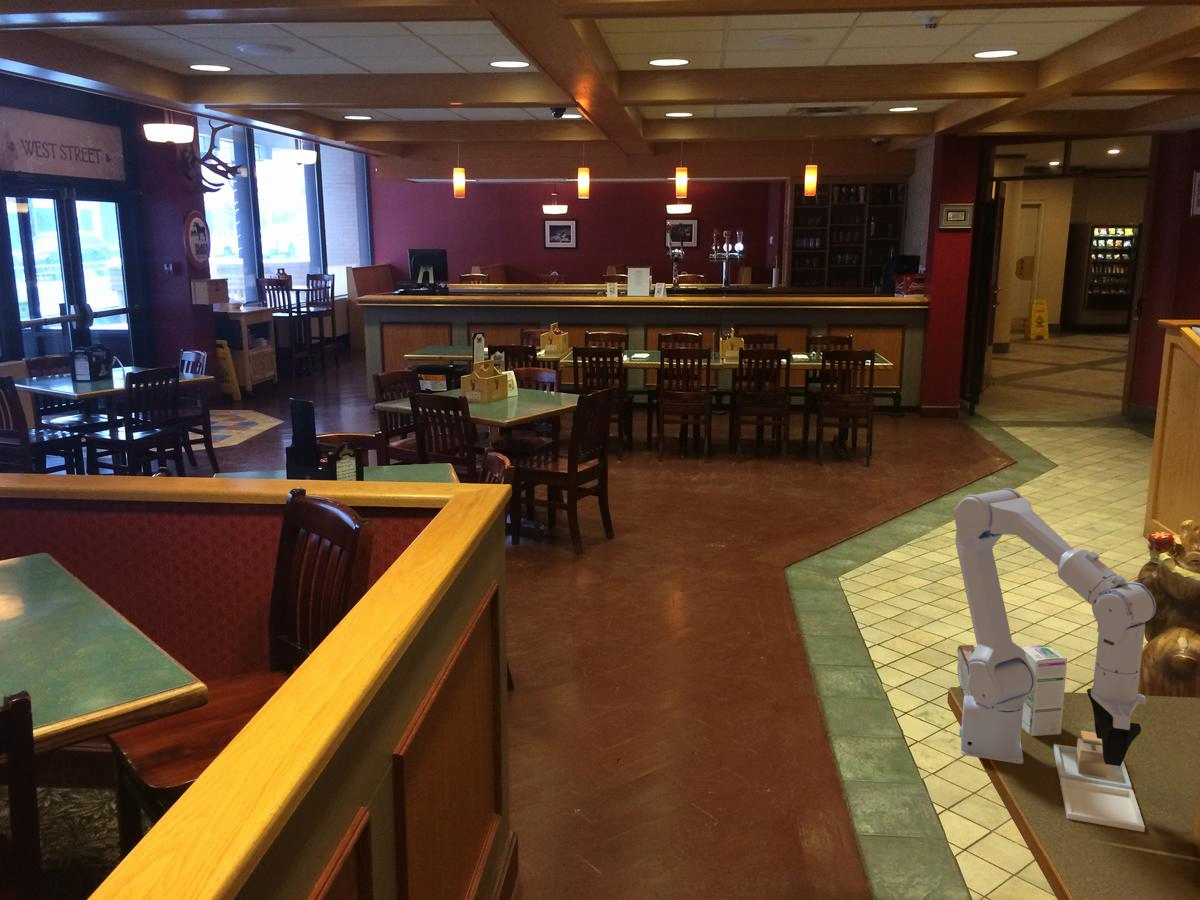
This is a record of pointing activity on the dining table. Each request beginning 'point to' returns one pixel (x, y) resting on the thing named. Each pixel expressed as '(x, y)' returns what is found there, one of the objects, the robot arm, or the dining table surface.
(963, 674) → the tin
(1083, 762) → the letter cube
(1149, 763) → the dining table surface
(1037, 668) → the syrup box
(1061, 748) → the far tray
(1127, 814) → the near tray
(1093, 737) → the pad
